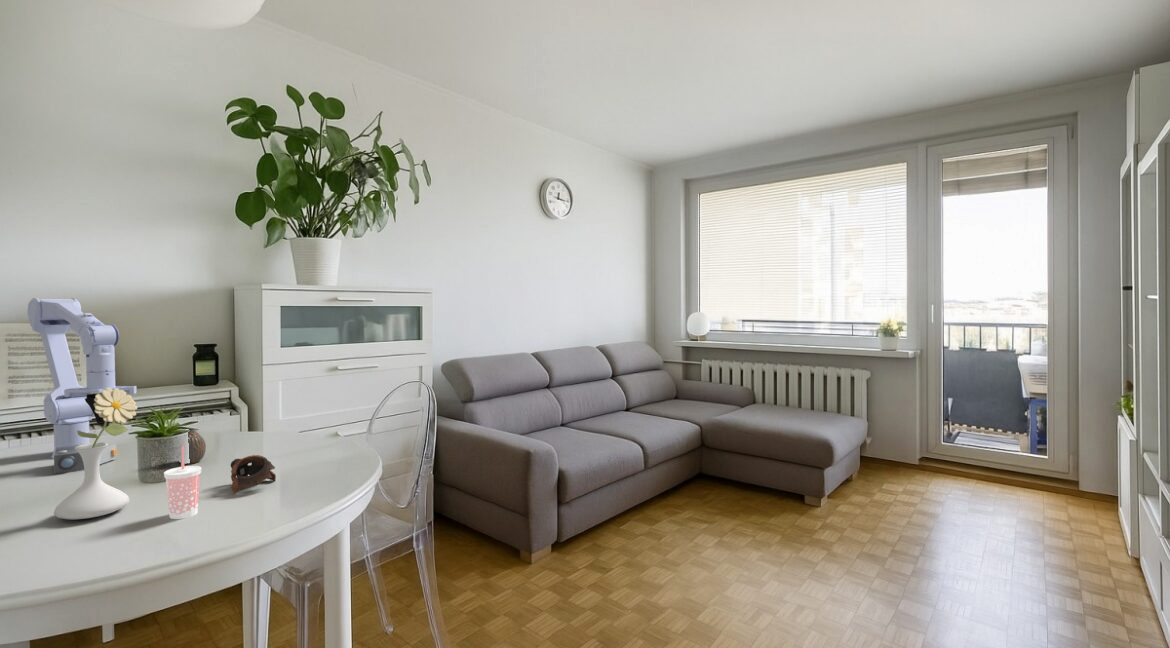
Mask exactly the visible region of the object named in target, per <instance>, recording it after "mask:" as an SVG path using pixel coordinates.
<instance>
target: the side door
mask: <svg viewBox="0 0 1170 648" xmlns="http://www.w3.org/2000/svg"><path fill="white" fill-rule="evenodd" d="M117 455H118V449H117V443H112V444H108V445H107V446H106V447H105V449H104V450H103V452H102V455H101V458H100V465H101V464H105V463H107V462H110V461H112V460H115V459H117Z"/></svg>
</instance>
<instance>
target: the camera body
mask: <svg viewBox="0 0 1170 648" xmlns="http://www.w3.org/2000/svg"><path fill="white" fill-rule="evenodd" d="M82 445H84V444H82ZM76 446H79V445H74V446H65V447H57V448H56V451H55V454H54V458H53V462H54V463H53V464H54V465H53V467H54V468H53V469H54V471H53V472H54V473H58V474H65V473H70V472H69V471H72V472H78V471H77V470H79V471H83V470H82V469H84V463H83V460H82V457H81V455H80V454H79V452H78V451H77V450H75V447H76ZM64 472H65V473H64Z"/></svg>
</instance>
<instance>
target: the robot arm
mask: <svg viewBox="0 0 1170 648" xmlns="http://www.w3.org/2000/svg"><path fill="white" fill-rule="evenodd" d="M26 312H27V317H28V319H29V320H28V321H29V324H30V327H31V330H32V331H34V332H36V333H38V334H39V336H40V338H41V342H42V345H43V349H44V353H45V357H46V360H47V364H48V368H49V373H50V377H51V379H52V383H53V390H52V391H50V392H49V393H48V394H47V395H46V396H45V397H44V399H43V406H44V408H43V414H44V417H45V419H46V421H47V422H49V423H50V424H52V425H53V440H54V441H53V445H54V446H53V447H54V448H53V449H54V450H53V452H52V455H51V459H54V454H55V451H56V448H57V447H65V446H74V445H82V444H90V443H91V442H90V439H91V438H86V437H81V436H79V435H78V432H77V431H78V430H79V431H81V432H85V433H90V421H92V419H93V417H94V418H95V422H96V424H104V423H105V421H104V420H103V417H100V416H99V414H97V413H95V406H94V403H96V402H95V401H94V399H95V396H96V395H97V394H102V391H103V390H106V389H107V388H110V389H112V390H114V389H115V388H118V389H119V390H123V391H124V392H126V395H135V394H138V393H137V392H138V391H137V388H138V387H137V385H116V361H115V360H116V356H115V349H116V347H117V346H118V344H119V342H120V331H119V329H118V327H117V326H116V325H115V324H107V325H106V324H105V323H103V322H102V321H100V320H99V319H98V318H96V316H94V315H93V314H92V313H91V312H83V311H82V304H81V303H80V301H79V300H78V299H77V298H73V297H72V298H39V297H38V298H37V297H33V298H32V299H30V300H29V302H28V304H27V311H26ZM71 331H73V332H74V333H75V334H76V335H77V336H78V337H79V338H80V339H79V340H80V342H81V345H82V352H83V355H85V371H86V373H85V374H86V377H85V378H86V380H85V381H86V387H84V386H82V385H80V384H79V382H78V378H77V375H76V371H75V368H74V363H73V359H72V355H71V352H70V348H69V345H68V339H67V338H66V337H67V336H66V334H67V333H68V332H71ZM102 395H103V394H102Z"/></svg>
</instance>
